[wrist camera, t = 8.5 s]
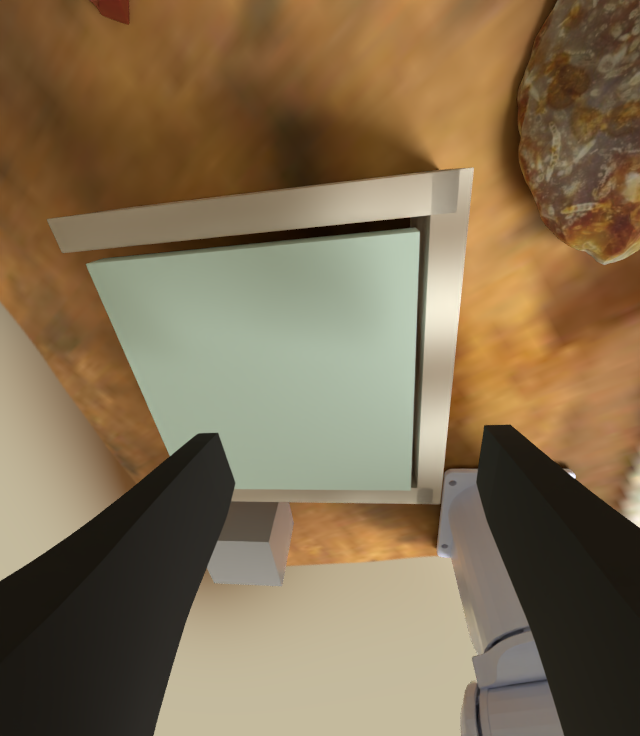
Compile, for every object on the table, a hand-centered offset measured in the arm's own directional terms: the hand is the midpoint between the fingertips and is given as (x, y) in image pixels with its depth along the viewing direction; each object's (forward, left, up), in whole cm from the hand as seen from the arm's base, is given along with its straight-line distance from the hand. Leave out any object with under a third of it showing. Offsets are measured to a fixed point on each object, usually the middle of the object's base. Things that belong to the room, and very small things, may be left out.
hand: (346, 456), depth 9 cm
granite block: (-15, +8, -11) cm, 20 cm away
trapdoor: (-1, +4, -6) cm, 7 cm away
